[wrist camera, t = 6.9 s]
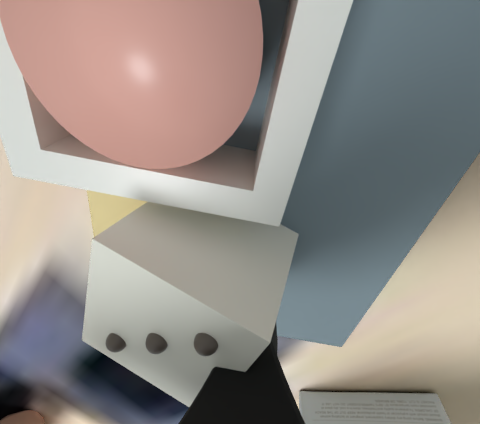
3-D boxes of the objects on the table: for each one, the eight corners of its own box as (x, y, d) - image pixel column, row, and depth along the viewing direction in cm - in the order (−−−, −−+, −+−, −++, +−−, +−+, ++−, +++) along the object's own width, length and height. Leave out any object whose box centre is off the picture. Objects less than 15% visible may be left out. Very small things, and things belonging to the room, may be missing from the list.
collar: (358, -114, 6) (424, -221, 3) (275, 180, 9) (279, 226, 7) (22, -194, 5) (-162, -372, 3) (76, 140, 9) (12, 175, 7)
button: (283, -50, 6) (297, -115, 3) (245, 141, 8) (237, 186, 6) (83, -96, 6) (-56, -201, 3) (103, 113, 8) (33, 146, 6)
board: (602, -45, 6) (621, -49, 6) (339, 340, 15) (341, 346, 15) (36, -180, 6) (22, -194, 5) (107, 298, 14) (103, 305, 14)
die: (298, 233, 9) (267, 355, 5) (249, 307, 12) (201, 429, 8) (188, 174, 10) (80, 245, 6) (162, 256, 12) (74, 348, 8)
